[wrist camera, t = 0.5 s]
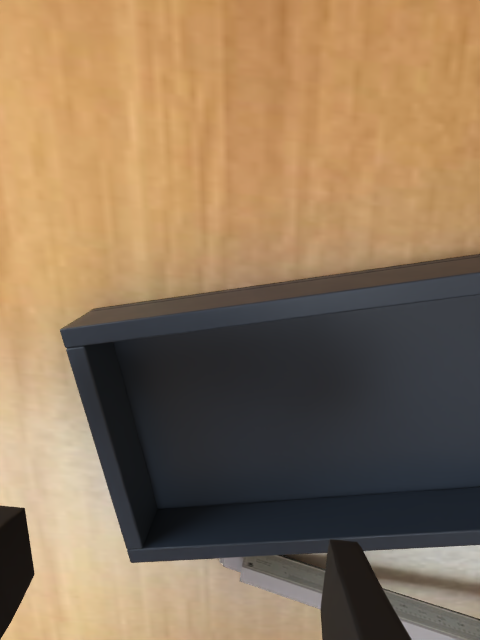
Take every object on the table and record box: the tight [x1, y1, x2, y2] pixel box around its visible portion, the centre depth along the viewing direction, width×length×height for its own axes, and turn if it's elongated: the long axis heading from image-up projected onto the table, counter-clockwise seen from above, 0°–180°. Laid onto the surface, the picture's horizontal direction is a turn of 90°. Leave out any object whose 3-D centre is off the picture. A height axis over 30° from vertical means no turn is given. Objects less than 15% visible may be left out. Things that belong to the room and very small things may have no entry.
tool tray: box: [60, 254, 480, 563], centre depth 17 cm, size 12×25×3 cm, turn 99°
